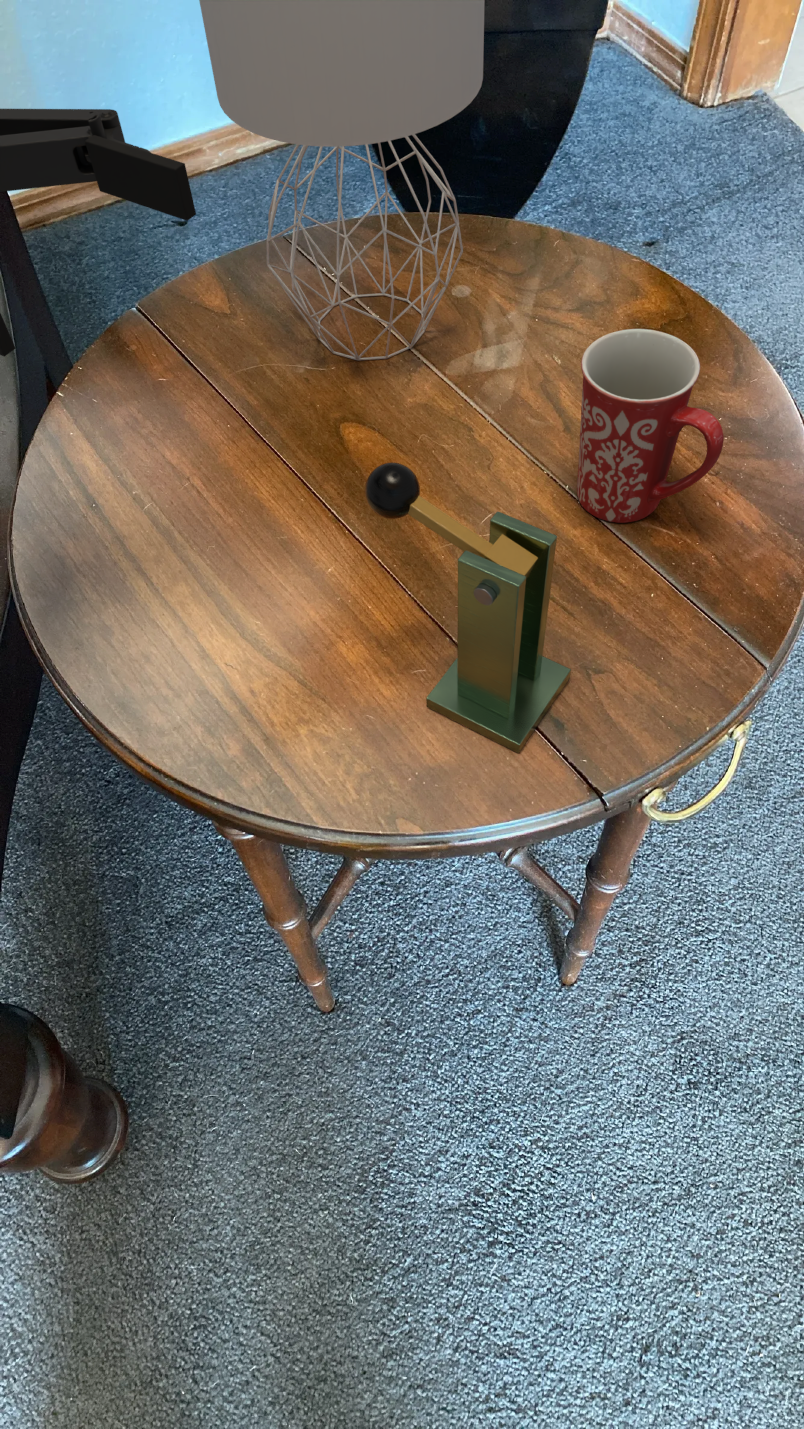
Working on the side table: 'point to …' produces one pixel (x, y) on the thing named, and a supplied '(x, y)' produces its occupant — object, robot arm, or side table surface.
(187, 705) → the side table surface
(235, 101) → the table lamp
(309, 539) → the side table surface
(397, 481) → the switch lever
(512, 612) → the switch bracket
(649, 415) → the mug
